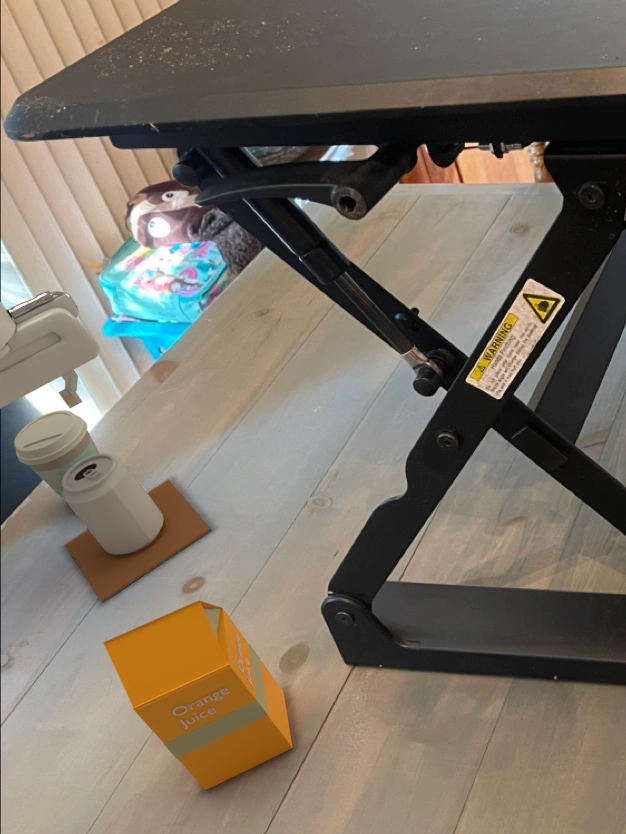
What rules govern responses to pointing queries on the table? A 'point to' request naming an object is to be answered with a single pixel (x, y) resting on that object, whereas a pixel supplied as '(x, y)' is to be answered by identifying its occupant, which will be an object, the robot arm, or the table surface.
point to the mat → (125, 569)
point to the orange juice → (203, 692)
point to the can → (112, 504)
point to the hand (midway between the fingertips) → (33, 426)
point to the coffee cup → (54, 446)
